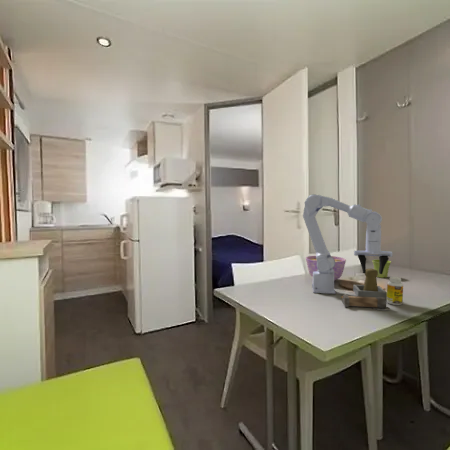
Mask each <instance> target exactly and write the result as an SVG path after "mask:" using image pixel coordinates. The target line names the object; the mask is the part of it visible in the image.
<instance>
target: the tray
mask: <svg viewBox="0 0 450 450" xmlns="http://www.w3.org/2000/svg"><path fill="white" fill-rule="evenodd" d="M352 287H353V289H352V291H353V292H354V294H355V295H356V296H359V297H384V298H386V299H387V290H384V288H382V287H381V286H380V285H377V288H378V291H363V290H364V284H353V286H352Z"/></svg>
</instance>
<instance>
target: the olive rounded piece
mask: <svg viewBox="0 0 450 450" xmlns="http://www.w3.org/2000/svg"><path fill="white" fill-rule="evenodd" d="M377 275H378V271H377V270H375V269H374V268H366V273H364V276H365V278H364V279H365V280H364V284H363V285H364V290H363V291H378V288H377V286H378V281H377V280H378V279H377V278H378V277H377Z"/></svg>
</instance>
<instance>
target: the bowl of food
mask: <svg viewBox="0 0 450 450" xmlns="http://www.w3.org/2000/svg"><path fill="white" fill-rule="evenodd" d="M331 256H332V257H333V258H334V260H335V266H334V267H333V270H334V281H336V280H338V279H340V278H341V277H342V275H343V273H344V270H345V266H346V262H347V258H345V257H340V256H334V255H331ZM305 262H306V266H307V270H308V273H309V275H310V276H311V277H312V278H313V272H316V271H318V268H317V260H316V255H309V256H306V257H305Z"/></svg>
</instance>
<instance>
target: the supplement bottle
mask: <svg viewBox="0 0 450 450" xmlns="http://www.w3.org/2000/svg"><path fill="white" fill-rule="evenodd" d="M386 292H387V302H386V303H388V304H389V305H394V306H402V305H403V297H404V284H403V282H402V278H401V277H398V276H390V277H389V281H388V282H387V285H386Z"/></svg>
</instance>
